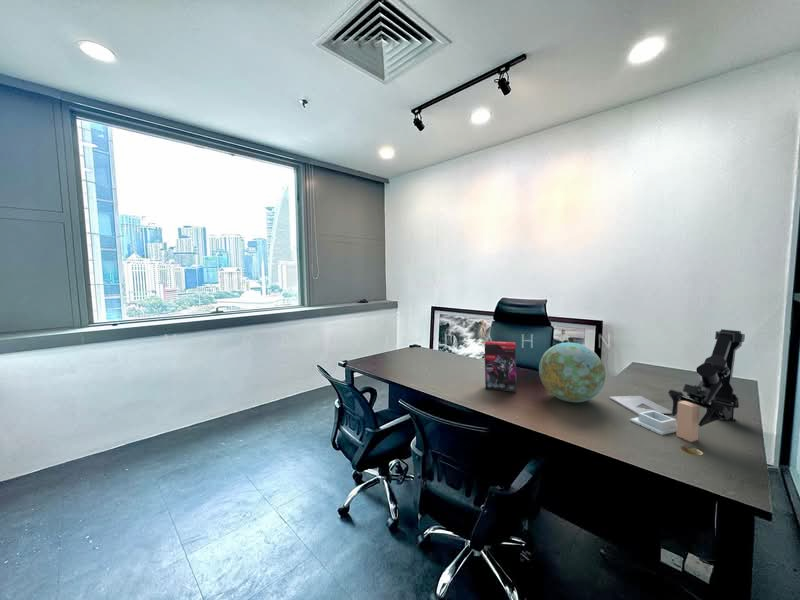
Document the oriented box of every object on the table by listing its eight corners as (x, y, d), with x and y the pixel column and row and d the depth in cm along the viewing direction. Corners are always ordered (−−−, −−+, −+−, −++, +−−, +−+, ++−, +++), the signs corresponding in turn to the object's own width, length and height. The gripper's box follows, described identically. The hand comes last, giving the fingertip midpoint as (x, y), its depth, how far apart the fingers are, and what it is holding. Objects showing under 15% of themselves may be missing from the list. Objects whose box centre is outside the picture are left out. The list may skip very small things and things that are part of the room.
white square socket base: (652, 416, 145) (652, 407, 145) (684, 429, 133) (685, 420, 133) (630, 420, 142) (630, 412, 141) (661, 435, 129) (662, 425, 129)
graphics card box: (484, 390, 183) (484, 343, 181) (485, 385, 190) (485, 340, 187) (516, 392, 178) (516, 344, 175) (516, 388, 184) (516, 341, 182)
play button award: (640, 395, 166) (673, 412, 147) (640, 398, 167) (673, 415, 147) (609, 396, 166) (638, 413, 146) (609, 399, 166) (638, 417, 146)
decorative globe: (556, 385, 187) (557, 334, 184) (614, 401, 163) (616, 343, 160) (527, 398, 169) (527, 343, 166) (587, 418, 145) (589, 354, 142)
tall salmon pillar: (683, 434, 130) (684, 400, 128) (697, 440, 125) (699, 405, 124) (676, 435, 129) (677, 402, 127) (690, 441, 124) (692, 407, 122)
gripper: (671, 370, 135) (651, 399, 133) (727, 385, 117) (704, 418, 115) (684, 386, 137) (664, 414, 135) (740, 402, 120) (718, 436, 118)
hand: (685, 420), depth 126 cm, fingers open, 9 cm apart
